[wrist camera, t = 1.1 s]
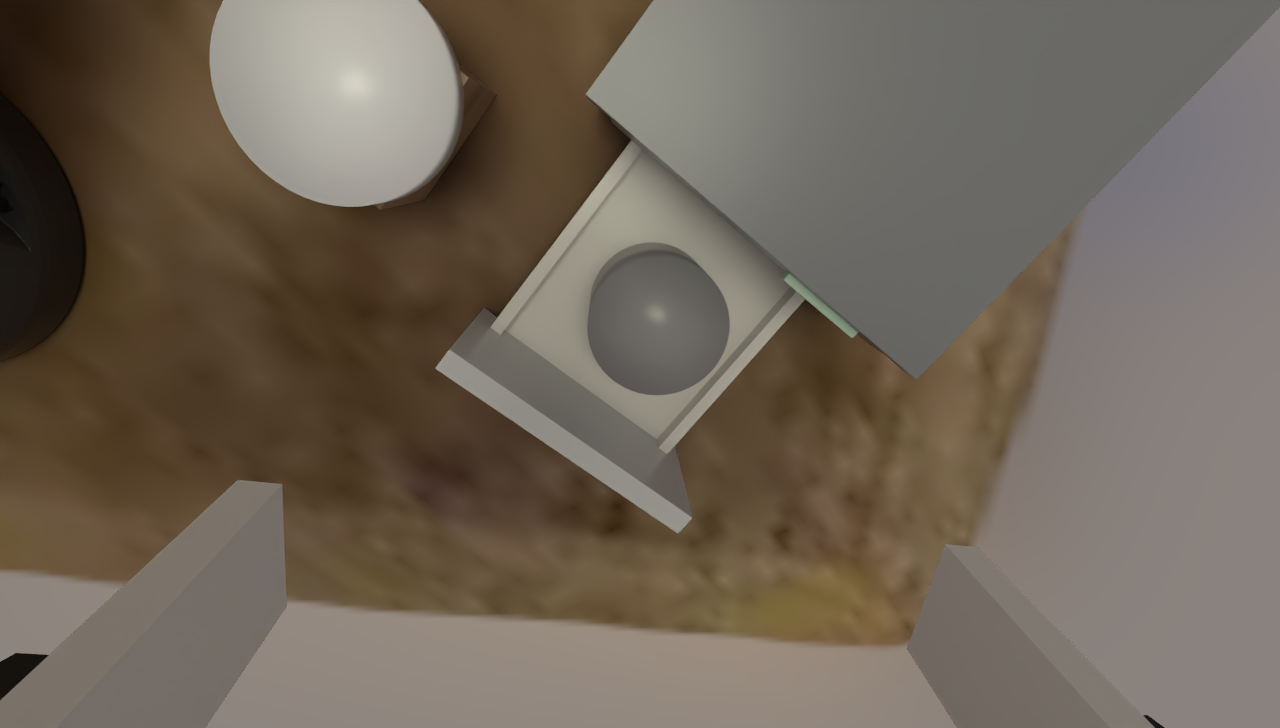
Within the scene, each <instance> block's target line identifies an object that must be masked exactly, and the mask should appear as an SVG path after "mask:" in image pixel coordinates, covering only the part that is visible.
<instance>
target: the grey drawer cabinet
mask: <svg viewBox="0 0 1280 728" xmlns="http://www.w3.org/2000/svg"><path fill="white" fill-rule="evenodd" d="M1279 7H1280V0H653V2H652V3H651V5H650V6H649V7H648V9H647V10H646V11H645V13H644V14H643V16H642V17H641V18H640V20H639V21H638V23H637V24H636V25H635V27H634V28H633V29H632V31H631V32H630V34H629V35H628V36H627V38H626V39H625V41H624V42H623V43H622V45H621V46H620V47H619V49H618V50H617V52H616V53H615V54H614V56H613V57H612V59H611V60H610V61H609V63H608V64H607V65H606V67H605V68H604V70H603V71H602V72H601V74H600V75H599V77H598V78H597V79H596V81H595V82H594V83H593V85H592V86H591V88H590V89H589V90H588V92H587V93H586V97H587V98H588V99H589V100H590V101H591V102H592V103H593V104H595V105H596V106H597V107H598V108H599V109H600V110H601V111H602V112H604V113H605V114H606V115H607V116H608V117H609V118H611V123H613V124H614V125H615V126H616V127H617V128H618V129H619V130H621V131H622V132H623V133H624V134H625V135H626V136H628V137H629V138H630V139H631V140H632V141H633V142H635V143H636V144H637V145H638V146H639V147H640V148H642V149H643V150H644V151H645V152H646V153H647V154H649V155H650V156H651V157H652V158H653V159H654V160H656V161H657V162H658V163H659V164H660V165H661V166H662V167H664V168H665V169H666V170H667V171H668V172H669V173H671V174H672V175H673V176H674V177H675V178H676V179H678V180H679V181H680V182H681V183H682V184H683V185H685V186H686V187H687V188H688V189H689V190H690V191H692V192H693V193H694V194H695V195H696V196H697V197H699V198H700V199H701V200H702V201H703V202H704V203H706V204H707V205H708V206H709V207H710V208H711V209H712V210H714V211H715V212H716V213H717V214H718V215H719V216H721V217H722V218H723V219H724V220H725V221H726V222H728V223H729V224H730V225H731V226H732V227H733V228H735V229H736V230H737V231H738V232H739V233H740V234H742V235H743V236H744V237H745V238H746V239H747V240H749V241H750V242H751V243H752V244H753V245H754V246H755V247H757V248H758V249H759V250H760V251H761V252H762V253H764V254H765V255H766V256H767V257H768V258H769V259H771V260H772V261H773V262H774V263H775V264H776V265H778V266H779V267H780V268H781V269H782V270H783V271H784V272H783V273H782V274H781V275H780V276H779V277H780V278H781V279H782V280H784V281H785V282H786V283H787V284H788V285H789V286H791V287H792V288H793V289H794V290H795V291H796V292H798V293H799V294H800V295H801V296H802V297H803V298H805V299H806V300H807V301H808V302H809V303H810V304H812V305H813V306H814V307H815V308H816V309H817V310H819V311H820V312H821V313H822V314H823V315H824V316H826V317H827V318H828V319H829V320H830V321H832V322H833V323H834V324H835V325H836V326H837V327H839V328H840V329H841V330H842V331H843V332H844V333H846V334H847V335H848V336H850V337H851V338H853V337H854V336H855V335H856V334H858V335H859V336H860V337H861V338H862V339H864V340H865V341H866V342H867V343H869V344H870V345H871V346H873V347H874V348H876V349H877V350H879V351H880V352H882V353H883V354H884V355H886V356H887V357H888V358H889V359H890V360H892V361H893V362H894V363H895V364H896V365H897V366H899V367H900V368H901V369H902V370H903V371H905V372H906V373H907V374H909V375H910V376H912V377H913V378H914V379H917V378H918V377H919V376H920V375H921V374H922V373H923V372H924V371H925V370H926V369H927V368H928V367H929V366H930V365H931V364H932V363H933V362H934V361H935V360H936V359H937V358H938V357H939V356H940V355H941V354H942V353H943V352H944V351H945V350H946V349H947V348H948V347H949V346H950V345H951V344H952V343H953V342H954V340H955V339H956V338H957V337H958V336H959V335H960V334H961V333H962V332H963V331H964V330H965V329H966V328H967V327H968V326H969V325H970V324H971V323H972V322H973V321H974V320H975V319H976V318H977V317H978V316H979V315H980V314H981V313H982V312H983V311H984V310H985V309H986V308H987V307H988V306H989V305H990V304H991V303H992V302H993V300H994V299H995V298H996V297H997V296H998V295H999V294H1000V293H1001V292H1002V291H1003V290H1004V289H1005V288H1006V287H1007V286H1008V285H1009V284H1010V283H1011V282H1012V281H1013V280H1014V279H1015V278H1016V277H1017V276H1018V275H1019V274H1020V273H1021V272H1022V271H1023V270H1024V269H1025V268H1026V267H1027V266H1028V265H1029V264H1030V263H1031V262H1032V261H1033V259H1034V258H1035V257H1036V256H1037V255H1038V254H1039V253H1040V252H1041V251H1042V250H1043V249H1044V248H1045V247H1046V246H1047V245H1048V244H1049V243H1050V242H1051V241H1052V240H1053V239H1054V238H1055V237H1056V236H1057V235H1058V234H1059V233H1060V232H1061V231H1062V230H1063V229H1064V228H1065V227H1066V226H1067V225H1068V224H1069V223H1070V222H1071V221H1072V220H1073V218H1074V217H1075V216H1076V215H1077V214H1078V213H1079V212H1080V211H1081V210H1082V209H1083V208H1084V207H1085V206H1086V205H1087V204H1088V203H1089V202H1090V201H1091V200H1092V199H1093V198H1094V197H1095V196H1096V195H1097V194H1098V193H1099V192H1100V191H1101V190H1102V189H1103V188H1104V187H1105V186H1106V185H1107V184H1108V183H1109V182H1110V181H1111V179H1112V178H1113V177H1114V176H1115V175H1116V174H1117V173H1118V172H1119V171H1120V170H1121V169H1122V168H1123V167H1124V166H1125V165H1126V164H1127V163H1128V162H1129V161H1130V160H1131V159H1132V158H1133V157H1134V156H1135V155H1136V154H1137V153H1138V152H1139V151H1140V150H1141V149H1142V148H1143V146H1145V145H1146V144H1147V143H1148V141H1150V139H1151V138H1152V137H1153V136H1154V135H1155V134H1156V133H1157V132H1158V131H1159V130H1160V129H1161V128H1162V127H1163V126H1164V125H1165V124H1166V123H1167V122H1168V121H1169V120H1170V119H1171V118H1172V117H1173V116H1174V115H1175V114H1176V113H1177V112H1178V111H1179V110H1180V109H1181V108H1182V106H1184V105H1185V103H1187V102H1188V100H1190V98H1191V97H1192V96H1193V95H1194V94H1195V93H1196V92H1197V91H1198V90H1199V89H1200V88H1201V87H1202V86H1203V85H1204V84H1205V83H1206V82H1207V81H1208V80H1209V79H1210V78H1211V77H1212V76H1213V75H1214V74H1215V73H1216V72H1217V71H1218V70H1219V68H1221V67H1222V66H1223V65H1224V64H1225V62H1226V61H1228V59H1229V58H1230V57H1231V56H1232V55H1233V54H1234V53H1235V52H1236V51H1237V50H1238V49H1239V48H1240V47H1241V46H1242V45H1243V44H1244V43H1245V42H1246V41H1247V40H1248V39H1249V38H1250V37H1251V36H1252V35H1253V34H1254V33H1255V32H1256V31H1257V30H1258V29H1259V28H1260V26H1262V25H1263V24H1264V23H1265V22H1266V21H1267V20H1268V18H1270V16H1271V15H1272V14H1273V13H1274V12H1275V11H1276V10H1277V9H1278V8H1279Z"/></svg>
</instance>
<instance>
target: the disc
mask: <svg viewBox="0 0 1280 728" xmlns="http://www.w3.org/2000/svg"><path fill="white" fill-rule="evenodd" d="M210 72H211V80H212V85H213V89H214V93H215V98H216V101H217V103H218V106H219V109H220V112H221V114H222V116H223V118H224V120H225V122H226V124H227V126H228V128H229V130H230V132H231V134H232V135H233V137H234V138H235V140H236V141H237V143H238V144H239V146H240V147H241V148H242V150H243V151H244V152H245V153H246V155H247V156H248V157H249V158H250V159H251V160H252V161H253V162H254V163H255V164H256V165H257V166H258V167H259V168H260V169H261V170H262V171H263V172H264V173H265V174H267V175H268V176H269V177H270V178H272V179H273V180H274V181H276V182H277V183H279V184H280V185H282V186H283V187H285V188H287V189H288V190H290V191H292V192H294V193H296V194H298V195H300V196H302V197H305V198H308V199H310V200H313V201H316V202H319V203H324V204H329V205H333V206H344V207H358V206H368V205H373V204H379V203H384V202H389V201H394V200H397V199H400V198H403V197H406V196H408V195H410V194H412V193H414V192H416V191H417V190H419V189H420V188H422V187H423V186H425V185H426V184H427V183H429V182H430V181H431V180H432V179H433V178H434V177H435V176H436V175H437V174H438V173H439V172H440V171H441V169H442V168H443V167H444V165H445V164H446V163H447V161H448V159H449V158H450V156H451V154H452V153H453V151H454V148H455V146H456V143H457V141H458V138H459V135H460V131H461V127H462V122H463V114H464V89H463V82H462V76H461V72H460V67H459V63H458V61H457V58H456V55H455V52H454V50H453V47H452V45H451V43H450V41H449V39H448V37H447V35H446V33H445V32H444V30H443V29H442V27H441V26H440V24H439V23H438V21H437V20H436V18H435V17H434V16H433V15H432V13H431V12H430V11H429V10H428V9H427V7H426V6H425V5H424V4H423V3H422V2H421V1H419V0H223V2H222V4H221V6H220V9H219V11H218V13H217V16H216V19H215V23H214V26H213V29H212V35H211V42H210Z"/></svg>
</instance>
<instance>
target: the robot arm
mask: <svg viewBox="0 0 1280 728" xmlns="http://www.w3.org/2000/svg"><path fill="white" fill-rule="evenodd" d="M82 265H83V241H82V232H81V226H80V221H79V216H78V212H77V209H76V205H75V202H74V199H73V196H72V194H71V191H70V189H69V186H68V184H67V182H66V179H65V177H64V175H63V173H62V171H61V169H60V168H59V166H58V164H57V162H56V160H55V159H54V157H53V155H52V154H51V152H50V151H49V149H48V147H47V146H46V145H45V143H44V142H43V140H42V139H41V138H40V136H39V135H38V134H37V132H36V131H35V130H34V129H33V127H32V126H31V125H30V124H29V122H28V121H27V120H26V119H25V118H24V117H23V116H22V115H21V114H20V112H19V111H18V110H17V109H16V108H15V107H14V106H13V105H12V104H11V103H10V102H9V101H8V100H7V99H5V98H4V97H3V96H2V95H1V94H0V361H3V360H6V359H9V358H11V357H14V356H17V355H19V354H21V353H23V352H25V351H27V350H29V349H31V348H32V347H34V346H36V345H37V344H38V343H40V342H41V341H43V340H44V339H45V338H46V337H47V336H48V335H50V334H51V333H52V332H53V331H54V330H55V329H56V327H57V326H58V325H59V324H60V323H61V321H62V320H63V319H64V317H65V316H66V314H67V312H68V311H69V309H70V307H71V305H72V303H73V301H74V298H75V296H76V293H77V290H78V287H79V283H80V279H81V273H82ZM286 606H287V603H286V576H285V549H284V522H283V495H282V484H276V483H265V482H254V481H243V480H237V481H236V482H235V483H234V484H233V485H232V486H231V487H229V488H228V489H227V490H226V491H225V492H224V493H223V494H222V495H221V496H220V497H219V498H218V499H217V500H215V501H214V502H213V503H212V504H211V505H210V506H209V507H208V508H207V509H206V510H205V511H204V512H203V513H201V514H200V515H199V516H198V517H197V518H196V519H195V520H194V521H193V522H192V523H191V524H190V525H189V526H187V527H186V528H185V529H184V530H183V531H182V532H181V533H180V534H179V535H178V536H177V537H176V538H175V539H173V540H172V541H171V542H170V543H169V544H168V545H167V546H166V547H165V548H164V549H163V550H162V551H161V552H159V553H158V554H157V555H156V556H155V557H154V558H153V559H152V560H151V561H150V562H149V563H148V564H147V565H145V566H144V567H143V568H142V569H141V570H140V571H139V572H138V573H137V574H136V575H135V576H134V577H133V578H131V579H130V580H129V581H128V582H127V583H126V584H125V585H124V586H123V587H122V588H121V589H120V590H119V591H117V592H116V593H115V594H114V595H113V596H112V597H111V598H110V599H109V600H108V601H107V602H106V603H105V604H104V605H102V606H101V607H100V608H99V609H98V610H97V611H96V612H95V613H94V614H93V615H92V616H91V617H90V618H89V619H87V620H86V621H85V622H84V623H83V624H82V625H81V626H80V627H79V628H78V629H77V630H76V631H74V632H73V633H72V634H71V635H70V636H69V637H68V638H67V639H66V640H65V641H64V642H63V643H62V644H60V645H59V646H58V647H57V648H56V649H55V650H54V651H53V652H52V653H51V654H50V655H38V654H20V653H15V654H14V655H12V656H10V657H8V658H6V659H5V660H3V661H1V662H0V728H205V727H206V726H207V724H208V723H209V721H210V720H211V718H212V717H213V715H214V714H215V712H216V711H217V709H218V708H219V706H220V705H221V703H222V702H223V700H224V699H225V697H226V696H227V694H228V693H229V691H230V690H231V688H232V687H233V685H234V684H235V682H236V681H237V680H238V678H239V676H240V675H241V673H242V672H243V671H244V669H245V668H246V666H247V664H248V663H249V662H250V660H251V659H252V657H253V656H254V654H255V653H256V651H257V650H258V648H259V647H260V645H261V644H262V642H263V641H264V639H265V638H266V636H267V635H268V633H269V632H270V630H271V629H272V627H273V626H274V624H275V623H276V621H277V620H278V618H279V617H280V615H281V614H282V612H283V611H284V609H285V608H286ZM907 650H908V651H909V653H910V654H911V656H912V657H913V659H914V661H915V662H916V664H917V665H918V667H919V668H920V670H921V672H922V673H923V675H924V676H925V678H926V679H927V681H928V683H929V684H930V686H931V687H932V689H933V691H934V692H935V694H936V695H937V697H938V699H939V700H940V701H941V703H942V705H943V706H944V708H945V710H946V711H947V713H948V714H949V716H950V717H951V719H952V721H953V722H954V724H955V725H956V727H957V728H1164V727H1163V726H1161V725H1160V724H1159V723H1157V722H1156V721H1155V720H1153V719H1152V718H1150V717H1149V716H1147V715H1142V714H1141V713H1140V712H1139V711H1138V710H1137V709H1136V708H1135V707H1134V706H1133V705H1132V704H1131V703H1130V702H1129V701H1128V700H1127V699H1126V698H1125V697H1124V696H1123V695H1122V694H1121V693H1120V692H1119V690H1117V688H1116V687H1115V686H1114V685H1113V684H1112V683H1111V682H1110V681H1109V680H1108V679H1107V678H1106V677H1105V676H1104V675H1103V674H1102V673H1101V672H1100V671H1099V670H1098V669H1097V668H1096V667H1095V666H1094V665H1093V664H1092V663H1091V662H1090V661H1089V660H1088V659H1087V658H1086V657H1085V656H1084V655H1083V654H1082V653H1081V652H1080V651H1079V650H1078V649H1077V648H1076V646H1075V645H1073V643H1071V641H1070V640H1069V639H1068V638H1067V637H1066V636H1065V635H1064V634H1063V633H1062V632H1061V631H1060V630H1059V629H1058V628H1057V627H1056V626H1055V625H1054V624H1053V623H1052V622H1051V621H1050V620H1049V619H1048V618H1047V617H1046V616H1045V615H1044V614H1043V613H1042V612H1041V611H1040V610H1039V609H1038V608H1037V607H1036V606H1035V605H1034V604H1033V602H1032V601H1031V600H1030V599H1028V597H1027V596H1026V595H1025V594H1024V593H1023V592H1022V591H1020V589H1019V588H1018V587H1017V586H1016V585H1015V584H1014V583H1013V582H1012V581H1011V580H1010V579H1009V578H1008V577H1007V576H1006V575H1005V574H1004V573H1003V572H1002V571H1001V570H1000V569H999V568H998V567H997V566H996V565H995V564H994V563H993V562H992V561H991V559H990V558H989V557H988V556H987V555H986V554H985V553H984V552H983V551H982V550H981V549H980V548H979V547H968V546H957V545H946V544H945V546H944V549H943V552H942V554H941V557H940V560H939V563H938V565H937V568H936V571H935V573H934V576H933V579H932V582H931V584H930V587H929V590H928V593H927V595H926V598H925V601H924V603H923V606H922V609H921V612H920V614H919V617H918V620H917V622H916V625H915V628H914V631H913V633H912V636H911V639H910V642H909V644H908V647H907Z"/></svg>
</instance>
